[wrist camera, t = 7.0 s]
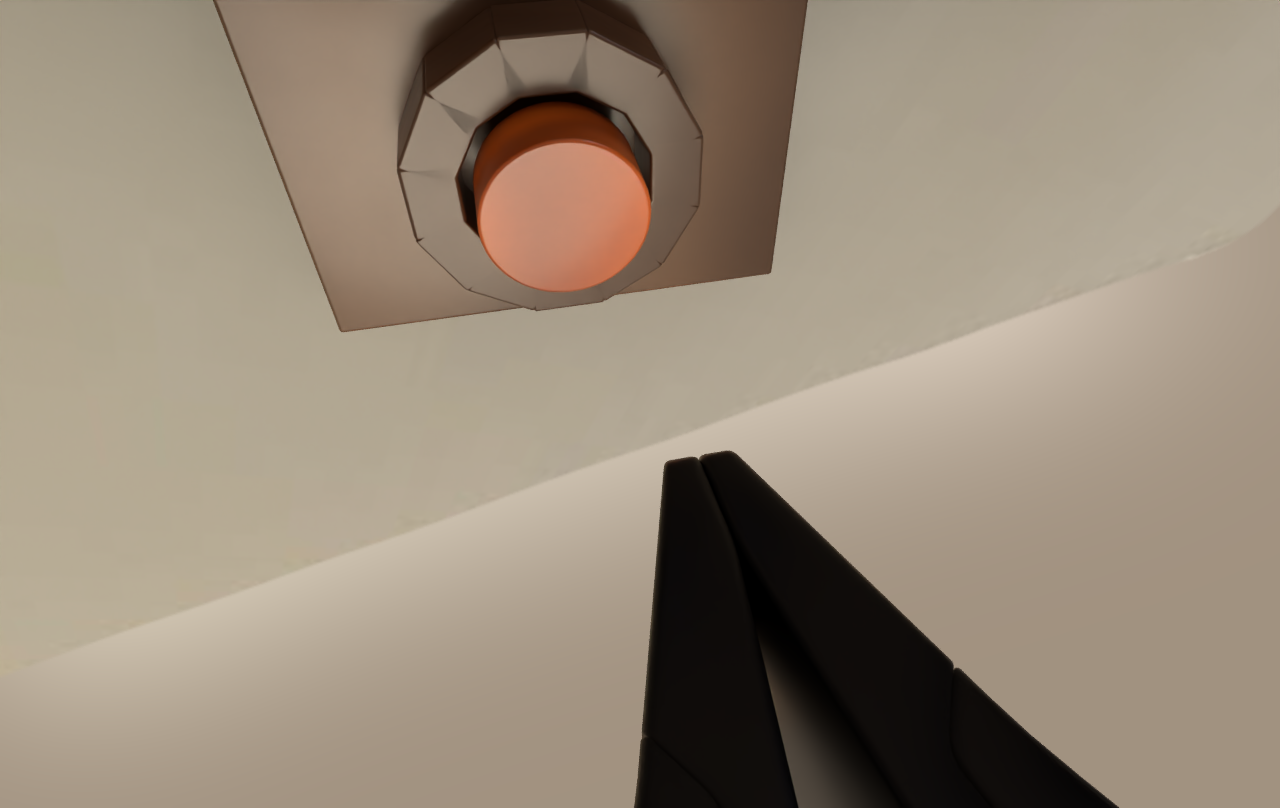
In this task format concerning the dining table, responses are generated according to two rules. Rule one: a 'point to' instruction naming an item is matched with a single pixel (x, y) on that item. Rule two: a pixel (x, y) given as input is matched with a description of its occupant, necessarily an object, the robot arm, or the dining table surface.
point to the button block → (484, 96)
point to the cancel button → (559, 197)
